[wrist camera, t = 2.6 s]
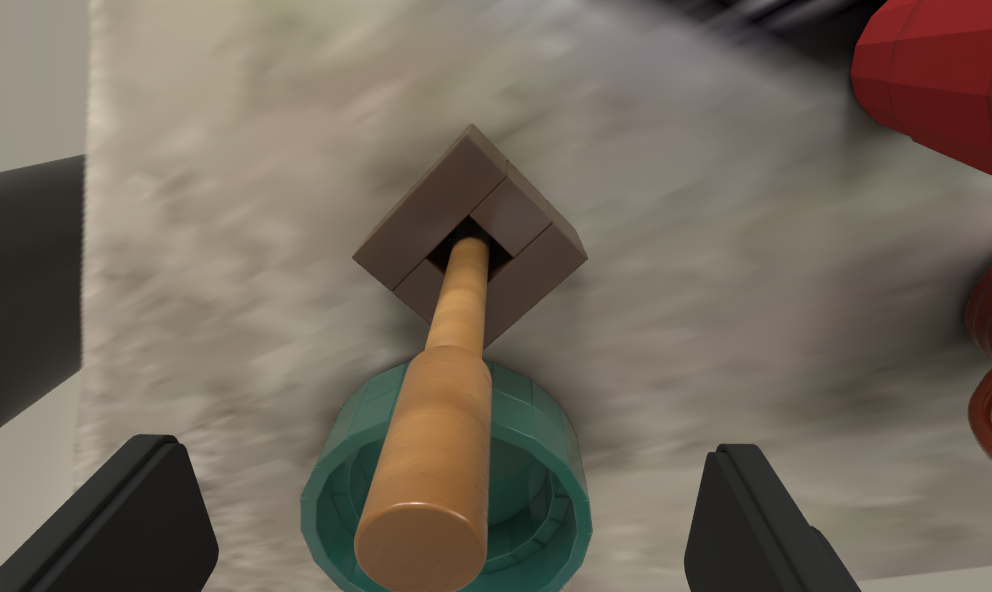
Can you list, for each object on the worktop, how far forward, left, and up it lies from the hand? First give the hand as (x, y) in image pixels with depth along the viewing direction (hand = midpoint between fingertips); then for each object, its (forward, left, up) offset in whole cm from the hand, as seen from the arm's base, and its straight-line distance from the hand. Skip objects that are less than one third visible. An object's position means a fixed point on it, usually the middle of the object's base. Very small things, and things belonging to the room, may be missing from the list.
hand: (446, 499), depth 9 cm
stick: (0, 0, -17) cm, 17 cm away
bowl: (+9, -11, -17) cm, 22 cm away
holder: (0, 0, -17) cm, 17 cm away
